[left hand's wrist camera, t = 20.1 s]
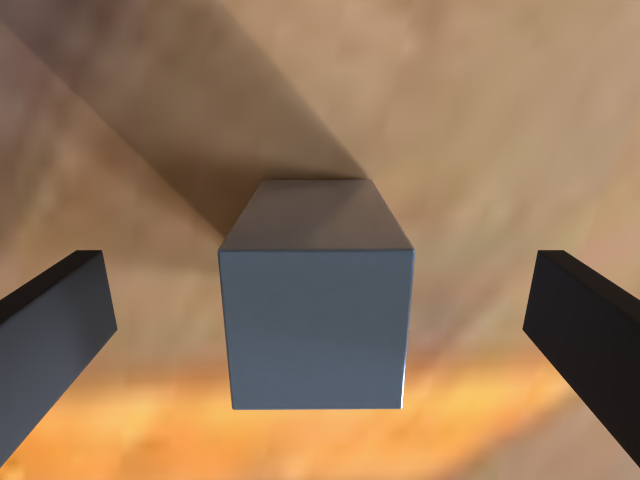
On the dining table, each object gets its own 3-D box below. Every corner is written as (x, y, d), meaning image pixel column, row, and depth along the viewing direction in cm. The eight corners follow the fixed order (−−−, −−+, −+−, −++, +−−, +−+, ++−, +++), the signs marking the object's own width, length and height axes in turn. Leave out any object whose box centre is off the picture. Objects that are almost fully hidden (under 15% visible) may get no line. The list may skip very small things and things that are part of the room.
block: (372, 179, 18) (415, 249, 10) (368, 280, 19) (402, 410, 11) (261, 179, 17) (216, 249, 10) (266, 280, 19) (231, 411, 11)
